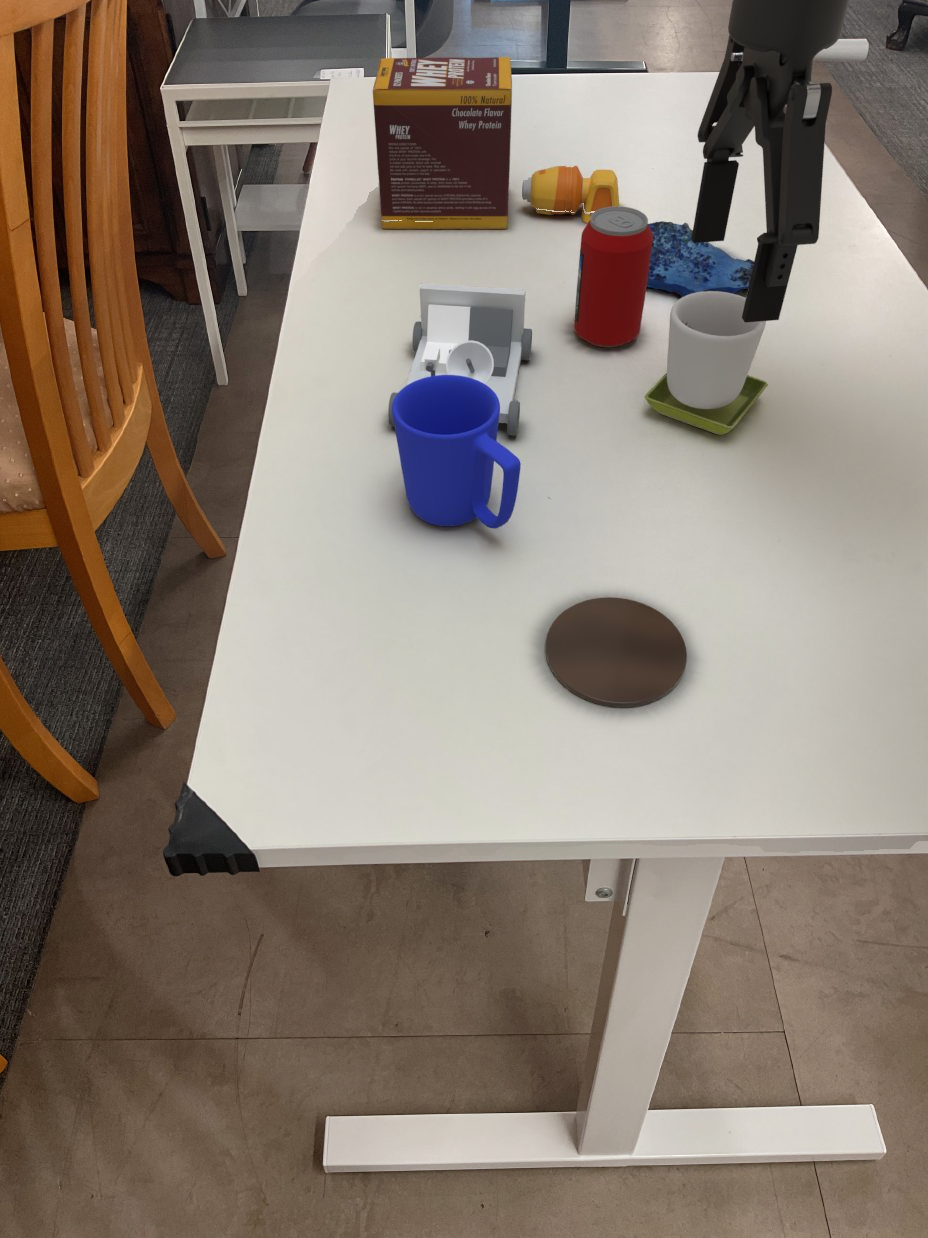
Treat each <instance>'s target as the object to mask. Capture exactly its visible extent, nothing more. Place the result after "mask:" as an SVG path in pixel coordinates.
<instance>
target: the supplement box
mask: <svg viewBox="0 0 928 1238" xmlns="http://www.w3.org/2000/svg"><path fill="white" fill-rule="evenodd" d="M377 68H378V69H377V72H376V76H375V80H374V83H373V87H372V100H373V103H372V104H373V116H374V118H373V119H374V133H375V144H376V147H375V148H376V163H377V175H378V189H379V203H380V225H381V229H389V230H392V229H393V230H394V229H395V230H396V229H398V230H399V229H400V230H404V229H405V230H406V229H407V230H408V229H409V230H413V229H414V230H454V229H455V230H505V229H508V228H509V227H508V226H509V225H508V223H509V222H508V221H509V195H510V194H509V193H510V173H511V172H510V169H511V167H510V166H511V143H512V141H511V138H512V137H511V136H512V107H513V106H512V104H513V78H512V77H513V76H512V62H511V57H510V56H498V57H497V56H496V57H449V56H448V57H384V58H381V59H379V62H378V67H377ZM381 219H382V220H398V221H389V222H384V221H381ZM399 220H402V221H399ZM415 221H433V222H415Z"/></svg>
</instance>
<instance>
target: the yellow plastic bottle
mask: <svg viewBox="0 0 928 1238" xmlns="http://www.w3.org/2000/svg"><path fill="white" fill-rule="evenodd" d="M521 195H522V196H521V197H522V199H523V200H526V202H527V203H530V206H531V207H532V208H533V207H534V208H533V209H535V208H537V209H538V208H539V209H547V210H554V211H565V210H566V211H569V212H566V211H565V212H552V211H546V210H537V209H535V210H536V213H537V214H542V215H549V216H553V215H564V214H569V215H572V216H573V215H574V216H575V214H577V211H578V210H579V208H580V207H579V206H581V205H582V204H583V203H584V209H585V211H586V212H591V211H597V210H599V209H601V208H605V207H613V206H619V205H620V194H619V183H618V177H617V175H616V173H615V171H614V170H613V169H596V170H594V171H593V172H592V174H590V177H583V175H582V173H581V171H580V168H579V166H578V165H573V166H567V165H557V166H552V167H547V168H544V169H539V170H536V171H534V172H533V174H531V177H528V178H527V179H525V180H523V181H522V188H521ZM577 209H578V210H577ZM571 210H572V211H571ZM576 210H577V211H576ZM570 211H571V212H575V211H576V212H575V213H571V212H570ZM592 214H593V213H590V214H585V213H584V210H583V205H582V207H581V221H582V222H583V223H585V224H588V222H589V221H590V218H591V215H592Z"/></svg>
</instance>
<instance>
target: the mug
mask: <svg viewBox="0 0 928 1238" xmlns="http://www.w3.org/2000/svg"><path fill="white" fill-rule="evenodd" d="M397 393H398V394H397V395H396V397H395V398H394V401H393V404H392V414H393V420H394V426H393V427H394V432H395V437H396V443H397V449H398V456H399V461H400V467H401V474H402V479H403V483H404V484H403V485H404V491H405V495H406V500H407V503H408V505H409V507H410V509H411V511H412V512H413V513H414V514H415V515H416V516H417V517H418V518H419V519H421V520H422V521H424V522H426V523H428V524H431V525H434V526H437V527H438V526H439V527H458V526H461V525H462V526H463V525H465V524H467V523H470V522H472V521H473V520H475V519H477V520H478V521H479V522H480V523H481V524H483V525H484V526H486V527H487V528H489V529H497V528H498V529H499V528H500V527H502V526H504V525H505V524H507V523H508V522H509V520H510V519H511V517H512V515H513V512H514V509H515V505H516V503H517V502H516V501H517V497H518V491H519V485H520V484H519V483H520V475H521V464H522V463H521V460H520V458H518V456H516V455H515V454H514V453H513V452H512V451H511V450H509V449H508V448H507V447H505V446H504V445H503V444H501V443H500V442H498V441H497V439H498V431H499V424H500V423H499V414H500V402H499V399H498V397H497V395H496V394H495V392H494V391H493V390H492V389H491V388H490V387H488V386H487V385H485V384H484V383H482V382H480V381H478V380H475V379H472V378H469V377H465V376H458V375H437V376H430V377H426V378H422V379H419V380H417V381H414V382H412V383H410V384H408V385H407V386H406V385H405V386H404V387H403V388H402V389H400V390H399V391H398V392H397ZM495 463H496V464H497V465H498V466H499V467H500V468H501V469H502V472H503V473H502V474H503V475H502V477H503V478H502V487H501V488H502V489H501V498H500V506H499V509H498V510H499V511H498V513H497V515H496V514H495V513H493V511H491V510H490V509H489V507H488V503H489V500H490V497H491V491H492V483H493V476H494V466H495Z"/></svg>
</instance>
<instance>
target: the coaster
mask: <svg viewBox="0 0 928 1238" xmlns="http://www.w3.org/2000/svg"><path fill="white" fill-rule="evenodd" d="M545 639H546V640H545V657H546V661H547V664H548V666H549V669H550V671H551V672H552V674H553V676H554V677H555V678H556V680H557V681H558V682H559V683H560V684H561V685H562V686H563V687H565V689H567V690H568V691H569V692H570V693H573V694H574V695H575V696H577V697H579V698H580V699H583V700H584V701H585V700H586V701H588V702H591V703H593V704H597V705H601V706H605V707H612V708H634V707H635V708H636V707H641V706H644V705H648V704H651V703H653V702H656V701H658V700H660V699H662V698H664V697H665V696H666V695H668V694H669V693H670V692H672V691H673V690H674V689H675V688H676V687H677V685H678V684H679V682H680V681H681V679H682V677H683V675H684V673H685V670H686V665H687V662H688V661H687V660H688V659H687V658H688V654H687V653H688V652H687V646H686V643H685V640H684V638H683V636H682V634H681V632H680V631H679V629H678V627H677V626H676V625H675V624H674V623H673V621H671V620H670V618H668V617H667V616H666V615H664V613H662V612H660V611H659V610H657V609H655V608H654V607H652V606H650V605H648V604H646V603H643V602H639V601H637V600H632V599H628V598H623V597H613V596H612V597H610V596H609V597H608V596H607V597H596V598H591V599H587V600H583V601H580V602H578V603H575V604H574V605H571V606H570V607H568V608H567V609H565V610H563V612H561V613H560V614H559V615H558V616H557V617H556V618H555V619H554V621H553V622H552V624H551V625H550V626H549V628H548V632H547V634H546V638H545Z"/></svg>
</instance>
